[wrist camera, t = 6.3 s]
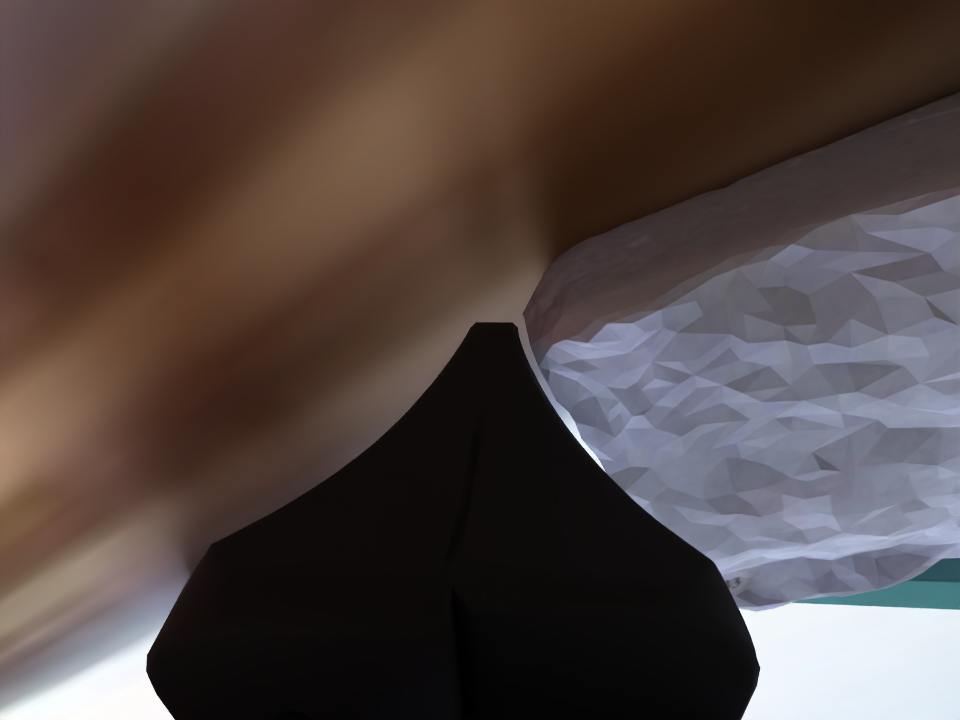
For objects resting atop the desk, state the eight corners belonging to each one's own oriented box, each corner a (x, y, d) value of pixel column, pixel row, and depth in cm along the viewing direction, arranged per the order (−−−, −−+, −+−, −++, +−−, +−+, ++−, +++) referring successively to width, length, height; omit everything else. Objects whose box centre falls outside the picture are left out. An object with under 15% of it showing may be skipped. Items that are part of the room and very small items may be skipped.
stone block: (1130, 358, 14) (1344, -137, 7) (1336, 551, 10) (2062, -49, 4) (636, 477, 18) (495, 223, 11) (671, 645, 14) (497, 418, 8)
